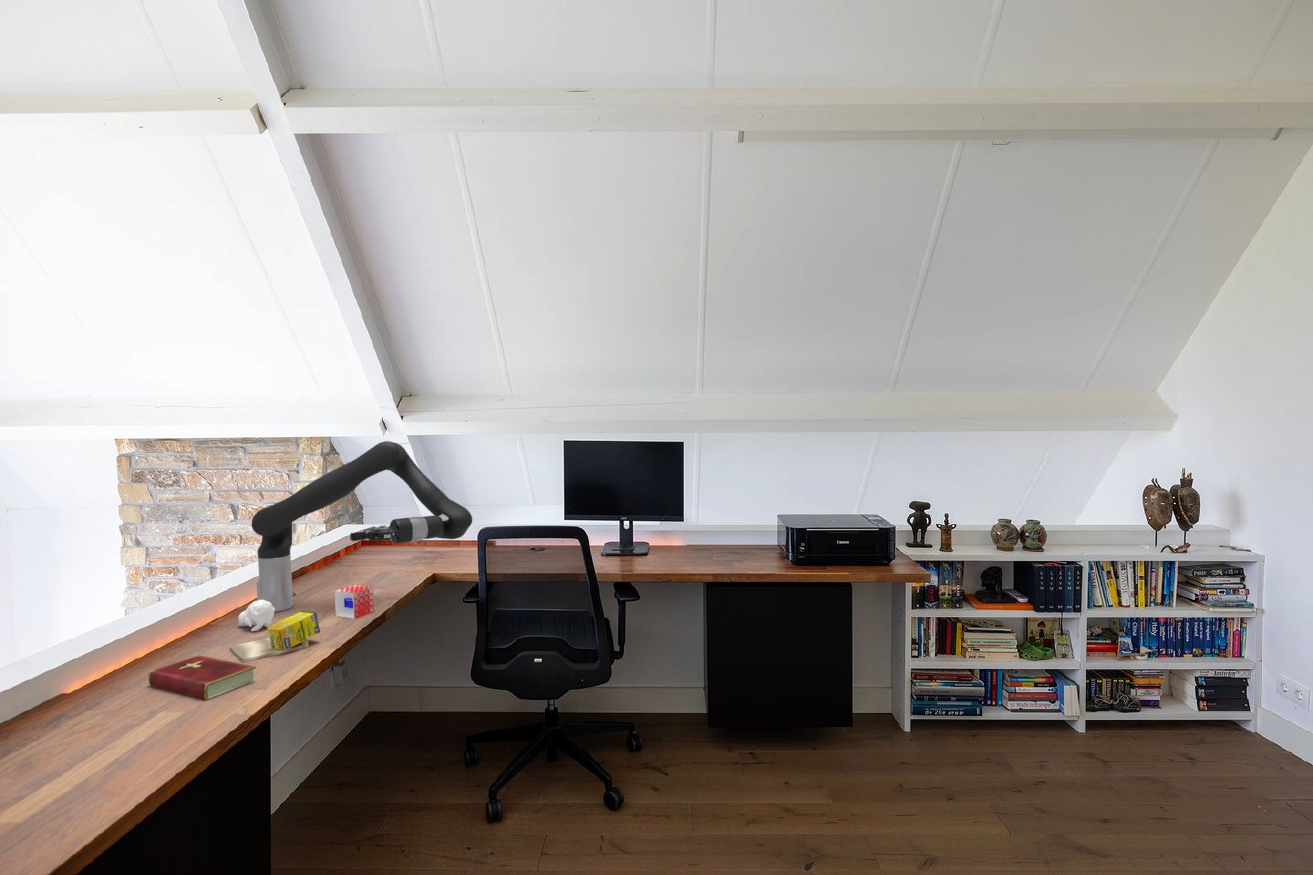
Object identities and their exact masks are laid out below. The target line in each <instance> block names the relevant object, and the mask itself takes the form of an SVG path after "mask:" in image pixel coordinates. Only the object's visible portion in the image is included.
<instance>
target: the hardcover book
mask: <svg viewBox="0 0 1313 875" xmlns="http://www.w3.org/2000/svg"><path fill="white" fill-rule="evenodd" d="M256 668H257V667H256V665H251V664H246V663H243V662H242V663H241V662H236V661H233V660H226V659H223V658H217V657H213V656H208V655H202V654H197V655H194V656H191V657H188V658H184V659H181V660H179V661H177V662H174V663H170V664H167V665H164V666H161V667H158V668H155V669H152V670H149V672H148V684H149V687H151V688H152V687H153V688H156V689H157V688H158V689H161V690H166V691H169V692H173V693H177V694H181V695H185V696H189V697H193V698H197V699H201V700H205V701H208V700H210V699H211V698H214V697H216V696H219V695H222V694H224V693H227V692H230V691H232V690H234V689H237V688H241V687H242V686H243V687H244V686H245V685H247V684H251V683H252V682H254V681H255V679H254V678H255V677H254V670H255V669H256Z"/></svg>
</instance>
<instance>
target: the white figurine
mask: <svg viewBox="0 0 1313 875" xmlns="http://www.w3.org/2000/svg"><path fill="white" fill-rule="evenodd" d="M274 611H275V609H274V607H273V606H272V604H271V603H270V602H268V601H265V600H258V601H257V600H255V601H253V602H251V603H250V604H249V605H248V606H247V608H246V610H244V611H243V610H242V612H241V613H239V615H238V621H239V622H238V624H239V625H240V626H241V627H248V626H249V627H250V628H251V627H252V626H253V624H254V623H256V625H255V626H253V627H252V628H251V630H250V632H251V631H252V633H254V632H253V631H255V632H257V631H259V630H261V628H262V627H263V626H264V627H265V628H268V627H270V626H272V625H271V624H272V622H273V620H272V619H273V618H274V616H275V612H274Z"/></svg>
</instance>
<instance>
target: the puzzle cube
mask: <svg viewBox="0 0 1313 875" xmlns="http://www.w3.org/2000/svg"><path fill="white" fill-rule="evenodd" d="M374 589H375V588H374V586H368V585H360V584H352V585H350V586H346V587H343V588H340V589H336V590H334V601H335V604H334V605H335V616H336V617H342V618H343V617H344V618H348V619H349V618H350V619H357V618H359V617H362V616H365V615H369V614H370V613H374V612H375V594H374V593H375V592H374Z"/></svg>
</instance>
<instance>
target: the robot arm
mask: <svg viewBox="0 0 1313 875" xmlns="http://www.w3.org/2000/svg"><path fill="white" fill-rule="evenodd" d="M383 471H389V472H392V473H393V474H395V475H396V476H397V477H399V478H400V479H401V480H402V481H403V482H404V483H406V485H407V486H408V487H409V488H410V490H411V492H412V493H413V495H414V496H415V497H416V498H417V500H418V501H419V502H420V503H421V504H422V505H423V506H424V507H425V508H426V509H427V510H428V512H430V513H431V514H432V515H428V516H427V515H426V516H409V517H403V518H402V517H401V518H394V519H392V520H391V521H390V524H389V525H388V526H386V524H385V525H384V524H383V525H379V526H377V527H376V526H371V527H368V528H364V529H362V531H357V532H350V534H349V540H350V541H352V542H357V541H364V540H365V541H370V542H373V541H376V542H377V541H391V542H392V543H393V544H395V545H398V544H405V543H413V542H419V541H422V540H429V539H436V538H437V539H443V540H445V539H446V540H457V539H460V538H461V537H463V536H464V535H465V534H466V533H467V531H468V529H469V528H470V526H471V525H472V524H473V516H472V514H471V512H470V511H469V510H468V509H467V508H466V507H464V506H463V505H461V504H459V503H458V502H456V501H454V500H452V499H451V498H450V497H448V496H447V495H446V494H445V493H444V492H443V491H442V490H441V489H440V488H439V487H438V486H437V485H436V484H435V483H434V482H433V481H432V480H430V478H428V477H427V476H426V475H425V473H424V472H422V470H421V469H420V468H419V467H418V466H417V464H416V463H415V461H414V460H413V459H412V458H411V456H410V455H409V453H408V452H407V451H406V449H405V448H404V447H403V445H401V444H399V443H397V442H393V441H389V440H386V441H381V442H378V443H377V444H375V445H374V446H372V447H371V448H370V449H368V450H367V451H365V452H364V453H363V454H361V455H360V456H358V457H357V458H355V459H353V460H351V461H349V462H346V463H345V464H343V465H341V466H339V467H337V468H335V469H333V470H331V471H329V472H327V473H326V474H324V475H322V476H320V477H318V478H316V479H315V480H314V481H312V482H310V483H308V484H306V485H305V486H303V487H302V488H300V489H299V490H297V491H296V492H294V493H293V494H291V495H290V496H289V497H287V498H285V499H283V500H281V501H279V502H276V503H273V504H272V505H270V506H266V507H264V508H261V509H259V510H258V511H257V512H256V513H255V514H254V515H253V517H252V519H251V528H252V530H253V532H254V533H255V534H257V535H259V536H261V543H260V545H259V547H258V548H257V565H258V567H257V568H258V580H257V582H256V599H257V600H256V601H258V600H265V601H268V602H270V603H271V604H272V606H273V607H274V609H275V611H274V613H276V612H282V611H286V610H290V609H291V608H292V607H293V605H294V604H293V601H294V600H293V582H292V581H293V580H292V579H293V578H292V561H291V557H292V556H291V548H292V545H293V523H294V522H295V521H297V520H298V519H301V518H302V517H304V516H307V515H309V514H312V513H315V512H317V511H319V510H322V509H324V508H327V507H328V506H331V505H332V504H334V503H336V502H338V501H340V500H342V499H344V498H345V497H347V496H348V495H349V494H350V493H352V492H353V491H354V490H356V488H357V487H358V486H359V485H360V484H361V483H362V482H364V481H365V480H368V478H370V477H373V476H375V475H377V474H379V473H382V472H383ZM442 515H444V516H445V517H447V518H448V519H446V520H443V518H442V517H441V516H442Z"/></svg>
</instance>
